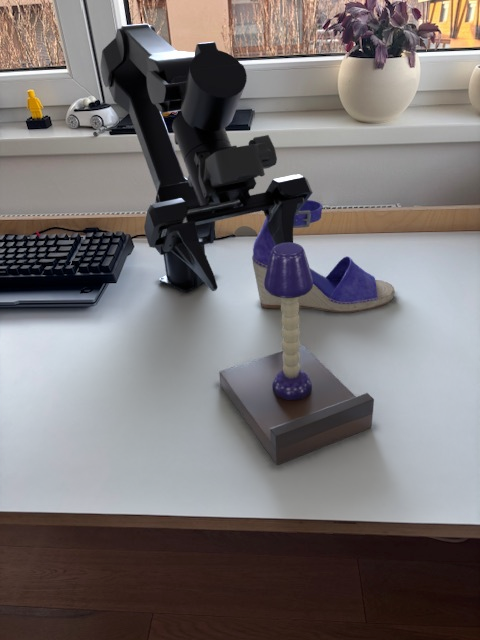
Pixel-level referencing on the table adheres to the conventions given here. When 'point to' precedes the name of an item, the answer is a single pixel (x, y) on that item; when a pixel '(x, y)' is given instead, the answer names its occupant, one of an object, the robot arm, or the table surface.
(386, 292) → the sandal
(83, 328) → the table surface
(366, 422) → the shoe shelf
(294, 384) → the toy lamp
